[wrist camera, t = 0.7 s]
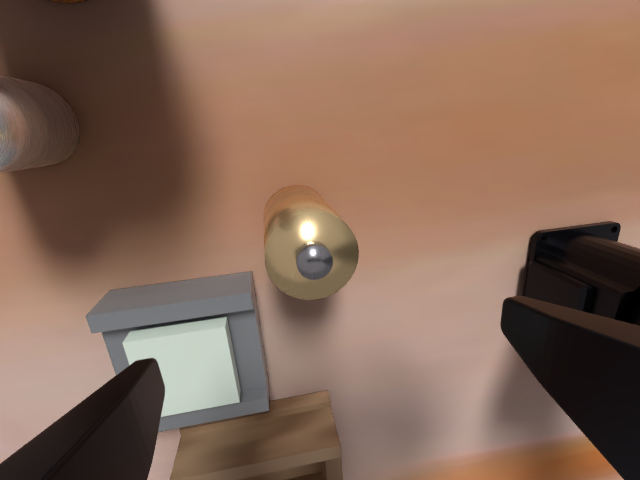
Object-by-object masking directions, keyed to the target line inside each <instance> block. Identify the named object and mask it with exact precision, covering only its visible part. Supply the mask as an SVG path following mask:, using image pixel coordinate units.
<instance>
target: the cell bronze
mask: <svg viewBox="0 0 640 480" xmlns="http://www.w3.org/2000/svg"><path fill="white" fill-rule="evenodd" d="M264 243H265V265H266V269H267V272H268V275H269V277H270V279H271V280H272V282H273V283H274V284H275V286H276V287H277V288H278V289H280V290H281V291H282V292H284V293H285V294H287V295H289V296H291V297H294V298H297V299H303V300H316V299H321V298H324V297H327V296H330V295H332V294H334V293H335V292H337V291H339V290H340V289H341V288H342V287H343V286H344V285H345V284H346V283H347V282H348V281H349V280H350V278H351V277H352V275H353V273H354V271H355V269H356V266H357V263H358V253H359V251H358V244H357V240H356V238H355V235H354V234H353V232H352V230H351V229H350V228H349V226H348V225H347V224H346V223H345V222H344V221H343V220H342V219H341V218H340V217H339V215H338V214H337V213H336V212H335V211H334V210H333V209H332V208H331V207H330V206H329V204H328V203H327V202H326V201H325V200H324V199H323V198H322V197H321V196H320V195H319V194H318V193H317V192H316V191H314V190H313V189H311V188H309V187H306V186H301V185H292V186H287V187H284V188H282V189H280V190H279V191H277V192H276V193H275V194H273V196H272V197H271V198H270V199H269V201H268V202H267V204H266V207H265V210H264Z"/></svg>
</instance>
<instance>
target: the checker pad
mask: <svg viewBox="0 0 640 480" xmlns="http://www.w3.org/2000/svg"><path fill="white" fill-rule="evenodd" d="M123 347H124V350H125V353H126V356H127V359H128V362H129V365H131V364H132V363H133V362H135V361H137V360H141V359H147V358H154V359H156V360H157V362H158V365H159V368H160V372H161V375H162V378H163V382H164V385H165V397H164V403H163V408H162V413H161V417H164V416H169V415H175V414H180V413H185V412H191V411H196V410H201V409H207V408H212V407H217V406H223V405H228V404H234V403H239V402H240V392H241V388H240V383H239V378H238V373H237V367H236V362H235V357H234V351H233V346H232V341H231V336H230V330H229V325H228V320H227V317H222V318H216V319H209V320H203V321H196V322H189V323H183V324H176V325H169V326H163V327H156V328H149V329H143V330H136V331H130V332H129V333H128V335H127V337H126V338H125V340H124V341H123Z"/></svg>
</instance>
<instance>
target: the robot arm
mask: <svg viewBox="0 0 640 480" xmlns="http://www.w3.org/2000/svg"><path fill="white" fill-rule="evenodd" d="M620 227H621V226H620V224H619V223H616V222H612V221H608V222H601V223H593V224H586V225H578V226H571V227H563V228H555V229H548V230H540V231H537V232H536V233H535V234H534V235H533V237H532V242H531V249H530V256H529V263H528V269H527V276H526V283H525V290H524V296H515V297H509V298H506V299H505V300H504V302H503V306H502V315H501V329H502V332H503V334H504V335H505V337H506V338H507V339H508V341H509V342H510V344H511V345H512V346H513V348H514V349H515V350H516V352H517V353H518V354H519V356H520V357H521V359H522V360H523V361H524V363H525V364H526V365H527V367H528V368H529V370H530V371H531V372H532V374H533V375H534V376H535V378H536V379H537V380H538V381H539V383H540V384H541V385H542V386H543V387H544V389H545V390H546V391H547V392H548V393H549V394H550V396H551V397H552V398H553V399H554V400H555V401H556V402H557V404H558V405H559V406H560V407H561V408H562V409H563V410H564V412H565V413H566V414H567V415H568V416H569V417H570V418H571V420H572V421H573V422H574V423H575V424H576V425H577V426H578V428H579V429H580V430H581V431H582V432H583V433H584V434H585V436H586V437H587V438H588V439H589V440H590V441H591V442H592V444H593V445H594V446H595V447H596V448H597V449H598V450H599V452H600V453H601V454H602V455H603V456H604V457H605V458H606V460H607V461H608V462H609V463H610V464H611V465H612V466H613V468H614V469H615V470H616V471H617V472H618V473H619V474H620V476H621V477H622V478H623V479H624V480H640V249H639V248H636V247H632V246H629V245H626V244H623V243H620V242H617V241H618V237H619V233H620ZM541 237H542V238H541ZM540 238H541V240H540ZM164 397H165V385H164V382H163V378H162V375H161V372H160V368H159V365H158V362H157V360H156V359H154V358H147V359H141V360H137V361H135V362H133V363H132V364H131V365H129V366H128V367H127V368H125V369H124V370H123V371H121V372H120V373H119V374H118V375H116V376H115V377H114V378H112V379H111V380H110V381H108V382H107V383H106V384H104V385H103V386H102V387H100V388H99V389H98V390H97V391H95V392H94V393H93V394H91V395H90V396H89V397H87V398H86V399H85V400H83V401H82V402H81V403H79V404H78V405H77V406H75V407H74V408H73V409H72V410H70V411H69V412H68V413H66V414H65V415H64V416H62V417H61V418H60V419H58V420H57V421H56V422H54V423H53V424H52V425H51V426H49V427H48V428H47V429H45V430H44V431H43V432H41V433H40V434H39V435H37V436H36V437H35V438H33V439H32V440H31V441H29V442H28V443H27V444H26V445H24V446H23V447H22V448H20V449H19V450H18V451H16V452H15V453H14V454H12V455H11V456H10V457H8V458H7V459H6V460H5V461H3V462H2V463H1V464H0V480H147V478H148V474H149V471H150V467H151V463H152V459H153V455H154V450H155V445H156V439H157V434H158V429H159V424H160V418H161V413H162V408H163V403H164Z"/></svg>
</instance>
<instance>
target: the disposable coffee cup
mask: <svg viewBox="0 0 640 480" xmlns="http://www.w3.org/2000/svg"><path fill="white" fill-rule="evenodd" d="M49 1H53V2H62V3H75V2H82V1H87V0H49Z"/></svg>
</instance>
